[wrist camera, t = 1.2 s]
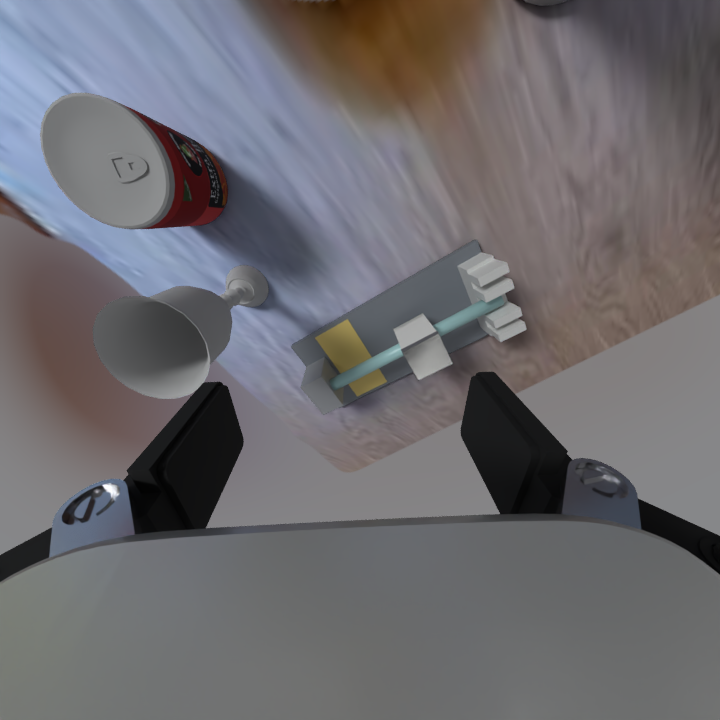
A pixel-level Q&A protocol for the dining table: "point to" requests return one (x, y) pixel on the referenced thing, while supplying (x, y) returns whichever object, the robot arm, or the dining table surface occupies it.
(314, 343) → the cable rig
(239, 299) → the chalice
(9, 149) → the dining table surface
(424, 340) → the sleeve
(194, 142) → the canned food
